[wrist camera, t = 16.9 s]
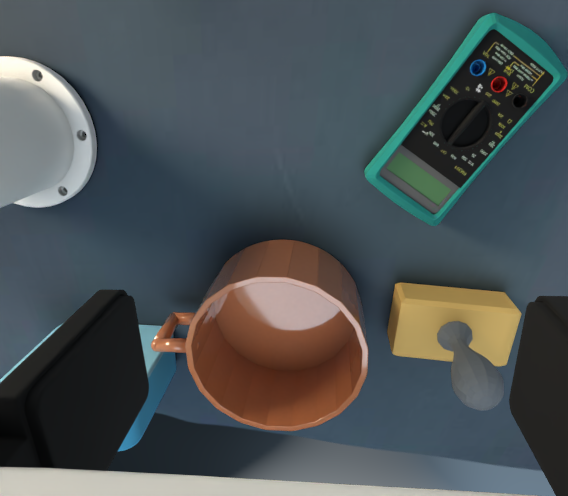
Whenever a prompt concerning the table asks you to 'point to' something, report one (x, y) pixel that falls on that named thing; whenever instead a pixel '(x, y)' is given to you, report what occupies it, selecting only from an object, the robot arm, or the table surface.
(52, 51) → the table surface
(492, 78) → the digital multimeter
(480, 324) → the rubber stamp
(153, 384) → the data package
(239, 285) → the terracotta mug
